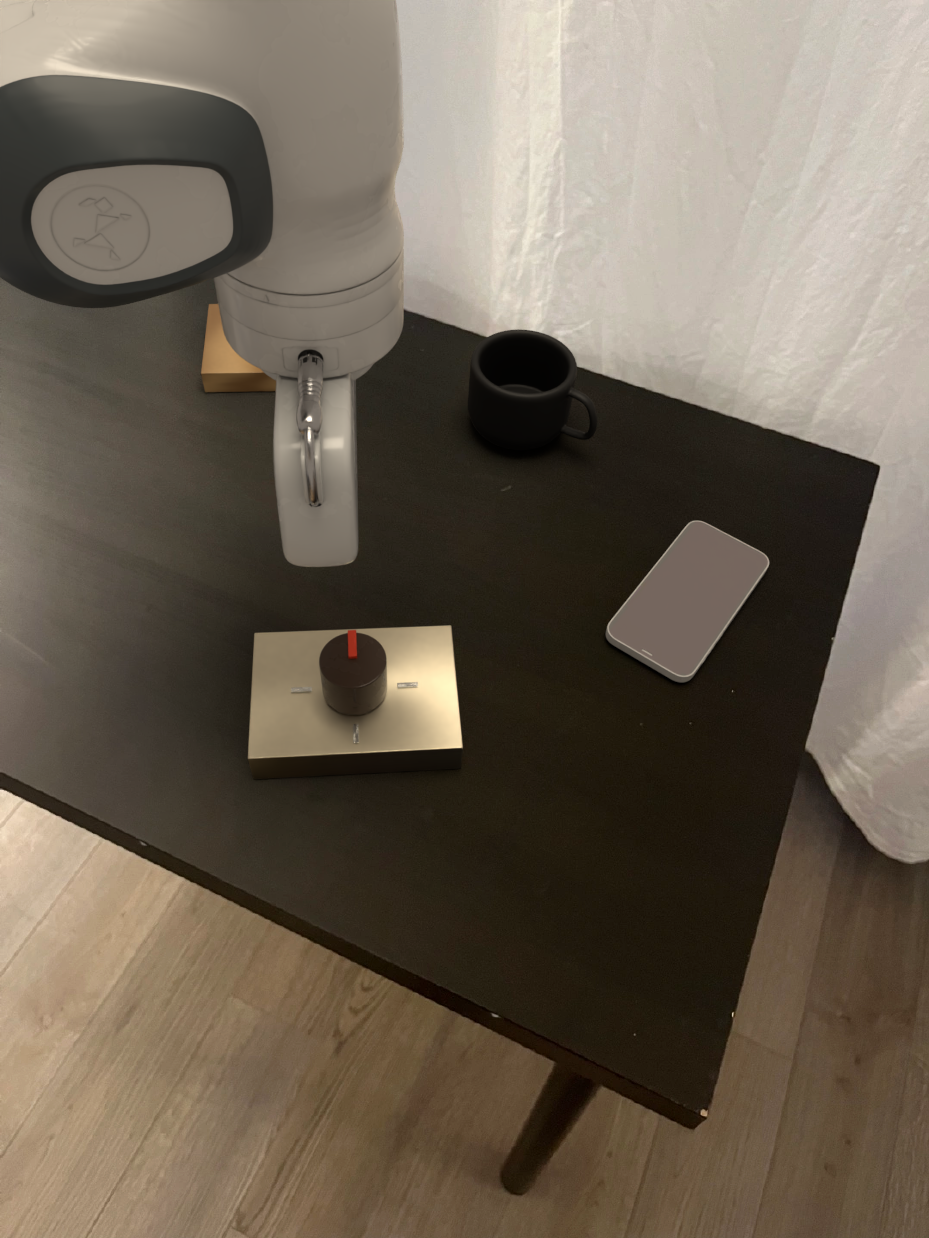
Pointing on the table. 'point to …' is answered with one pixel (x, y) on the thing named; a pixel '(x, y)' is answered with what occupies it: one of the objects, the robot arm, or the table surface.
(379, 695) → the dial knob
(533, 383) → the mug
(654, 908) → the table surface
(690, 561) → the smartphone
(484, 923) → the table surface
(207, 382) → the button block
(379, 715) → the dial panel
